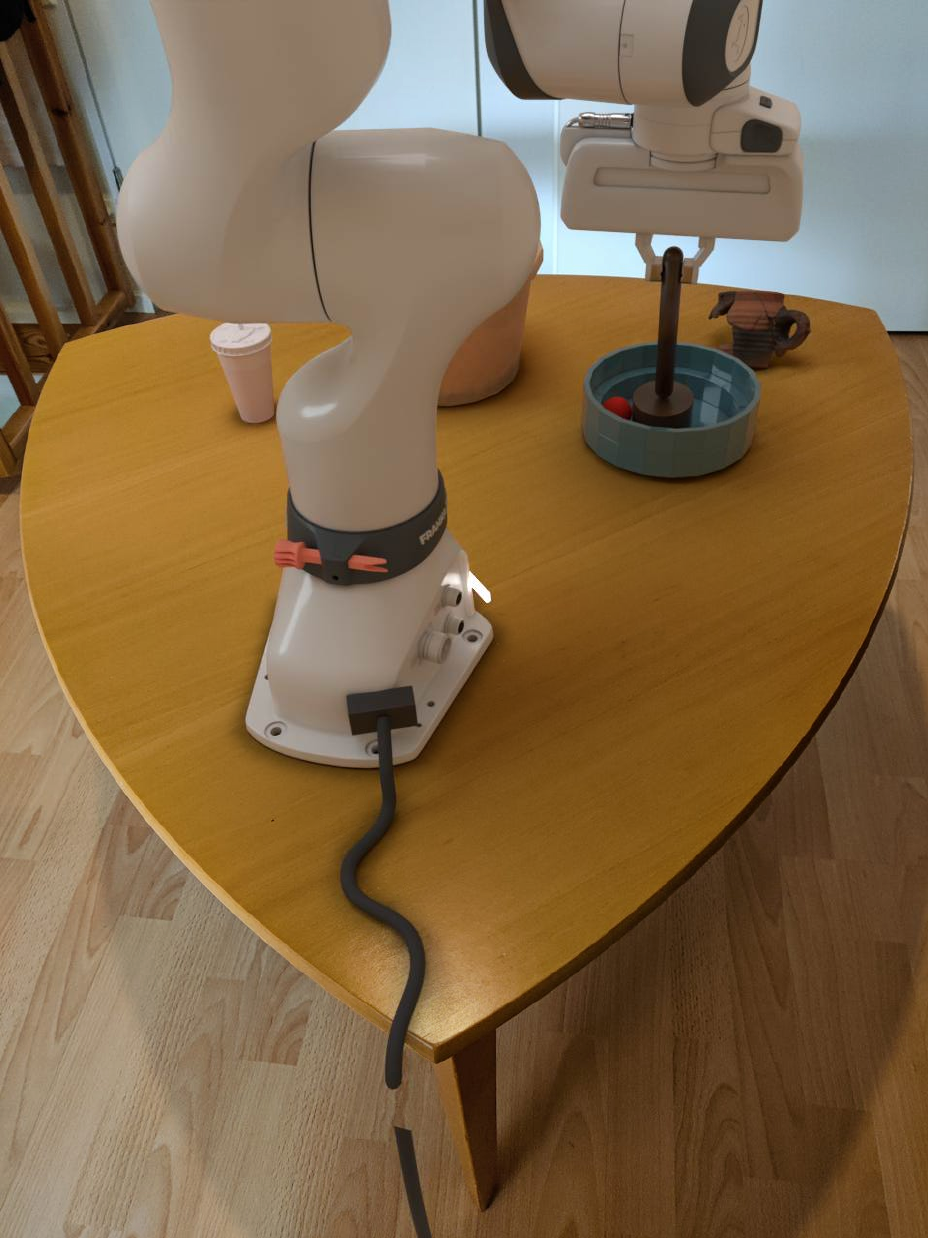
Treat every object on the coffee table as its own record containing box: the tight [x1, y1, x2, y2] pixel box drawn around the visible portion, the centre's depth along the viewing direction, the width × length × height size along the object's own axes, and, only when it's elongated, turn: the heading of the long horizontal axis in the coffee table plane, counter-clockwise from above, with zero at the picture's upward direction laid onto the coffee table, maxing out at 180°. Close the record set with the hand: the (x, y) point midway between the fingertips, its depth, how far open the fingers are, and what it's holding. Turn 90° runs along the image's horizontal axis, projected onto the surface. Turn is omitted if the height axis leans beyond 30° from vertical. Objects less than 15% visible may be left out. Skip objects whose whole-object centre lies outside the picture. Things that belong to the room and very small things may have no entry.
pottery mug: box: [708, 290, 812, 369], centre depth 113 cm, size 12×10×8 cm
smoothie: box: [209, 322, 275, 424], centre depth 105 cm, size 6×6×14 cm
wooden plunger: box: [632, 245, 694, 429], centre depth 94 cm, size 6×6×19 cm
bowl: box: [581, 341, 762, 479], centre depth 101 cm, size 17×17×6 cm
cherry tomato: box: [603, 397, 632, 421], centre depth 102 cm, size 3×3×3 cm
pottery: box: [437, 240, 545, 407], centre depth 110 cm, size 22×22×14 cm
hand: (671, 280), depth 90 cm, fingers closed on wooden plunger
